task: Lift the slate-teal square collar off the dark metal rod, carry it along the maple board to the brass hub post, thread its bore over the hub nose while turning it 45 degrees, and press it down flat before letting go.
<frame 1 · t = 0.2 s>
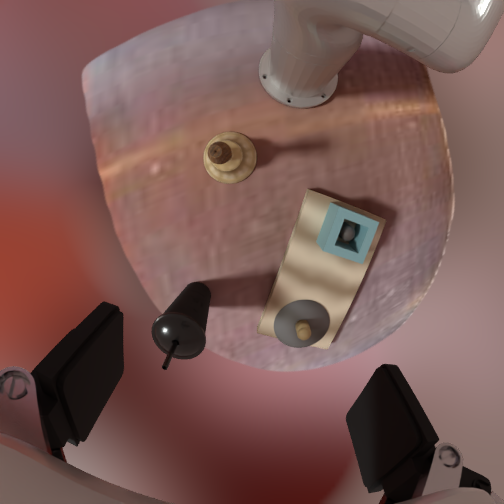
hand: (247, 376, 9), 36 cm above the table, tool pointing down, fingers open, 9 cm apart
collar: (341, 228, 41), point 2 cm above the table, touching base board
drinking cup: (197, 294, 48), on the table
base board: (319, 275, 46), on the table
hand bell: (230, 157, 41), on the table
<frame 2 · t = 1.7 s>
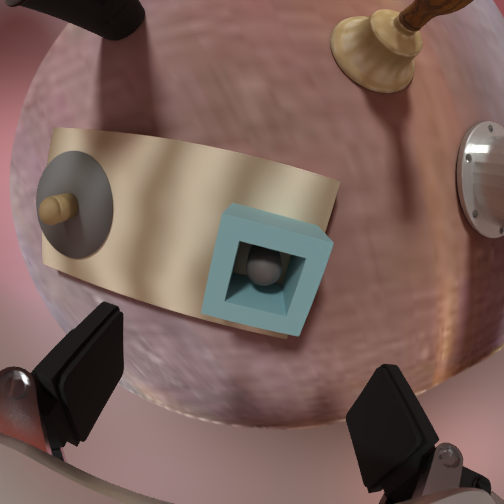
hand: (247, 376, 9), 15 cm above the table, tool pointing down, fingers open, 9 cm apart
collar: (264, 255, 21), point 2 cm above the table, touching base board
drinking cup: (123, 22, 17), on the table
base board: (162, 222, 23), on the table
hand bell: (373, 53, 17), on the table
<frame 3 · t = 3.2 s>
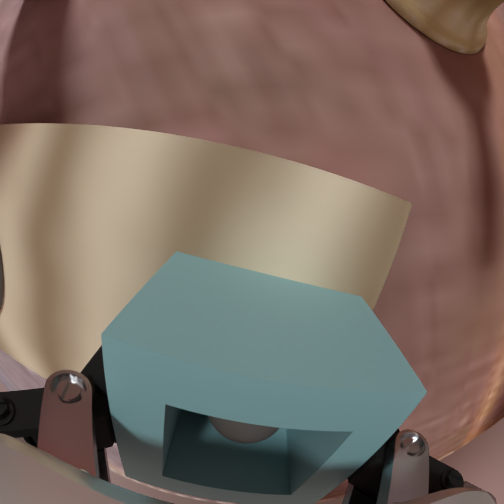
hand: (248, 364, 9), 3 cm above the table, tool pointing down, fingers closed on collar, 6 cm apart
collar: (249, 353, 10), point 2 cm above the table, touching base board, gripper
base board: (75, 273, 11), on the table
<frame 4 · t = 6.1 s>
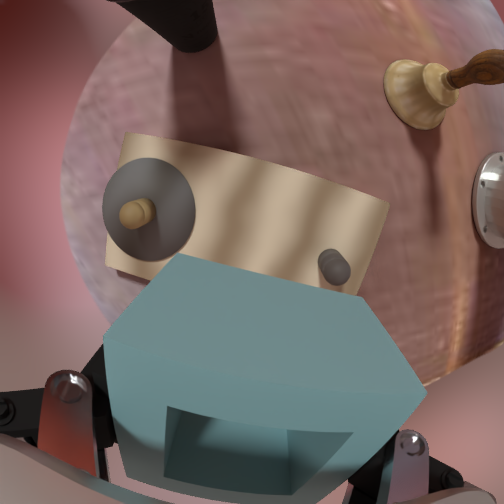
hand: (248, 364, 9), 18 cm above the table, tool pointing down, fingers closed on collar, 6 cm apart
collar: (250, 353, 10), point 18 cm above the table, touching gripper
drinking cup: (194, 35, 21), on the table
base board: (238, 229, 27), on the table
hand bell: (415, 94, 21), on the table
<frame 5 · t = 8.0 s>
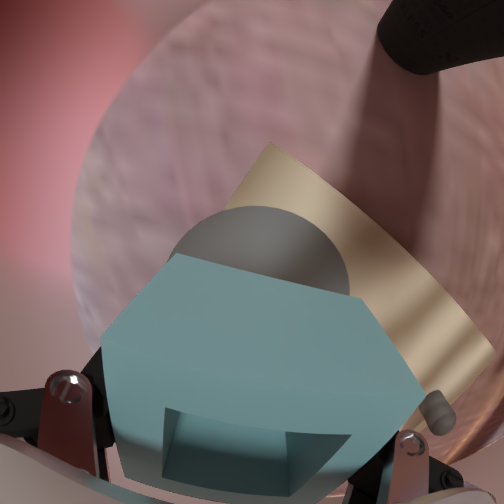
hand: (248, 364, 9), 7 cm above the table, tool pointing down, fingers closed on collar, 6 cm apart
collar: (248, 354, 10), point 6 cm above the table, touching gripper
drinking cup: (407, 44, 11), on the table
base board: (360, 351, 17), on the table
when the fingers open (3 cm above the table, at t = 9.3 s): collar stays where it is, resting on base board.
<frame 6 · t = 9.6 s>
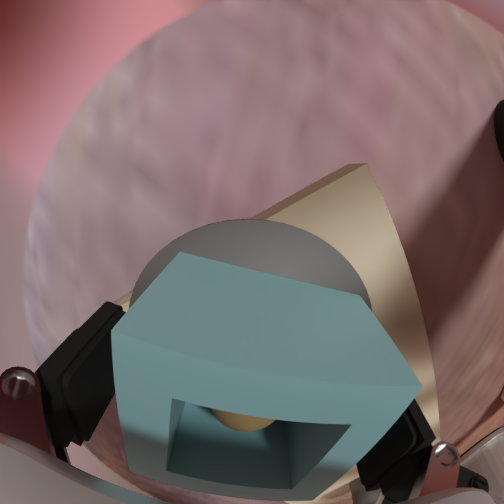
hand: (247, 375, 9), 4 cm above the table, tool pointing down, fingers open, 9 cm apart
collar: (250, 350, 10), point 2 cm above the table, touching base board
base board: (323, 419, 14), on the table
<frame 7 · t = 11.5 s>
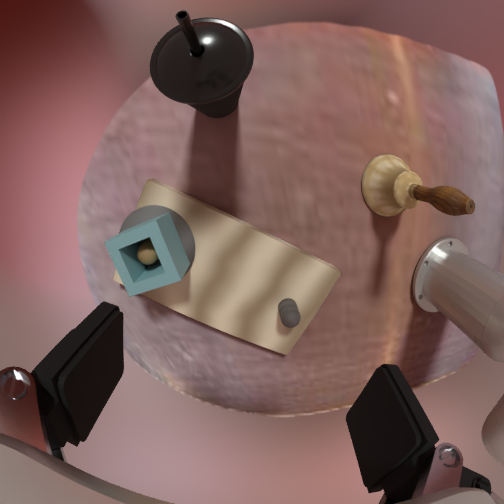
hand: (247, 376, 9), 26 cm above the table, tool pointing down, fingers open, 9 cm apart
collar: (155, 247, 31), point 2 cm above the table, touching base board
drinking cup: (218, 99, 29), on the table
base board: (223, 272, 35), on the table
hand bell: (387, 185, 32), on the table
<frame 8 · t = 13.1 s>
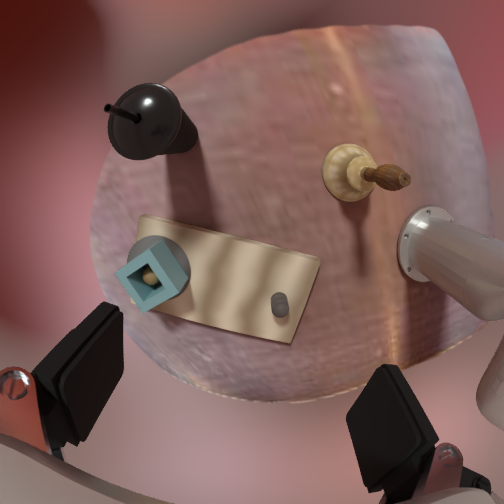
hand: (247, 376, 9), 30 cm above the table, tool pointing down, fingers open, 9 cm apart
collar: (158, 269, 38), point 2 cm above the table, touching base board
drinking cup: (181, 136, 35), on the table
base board: (219, 279, 40), on the table
hand bell: (349, 172, 36), on the table
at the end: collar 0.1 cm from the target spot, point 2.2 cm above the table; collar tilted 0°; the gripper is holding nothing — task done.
